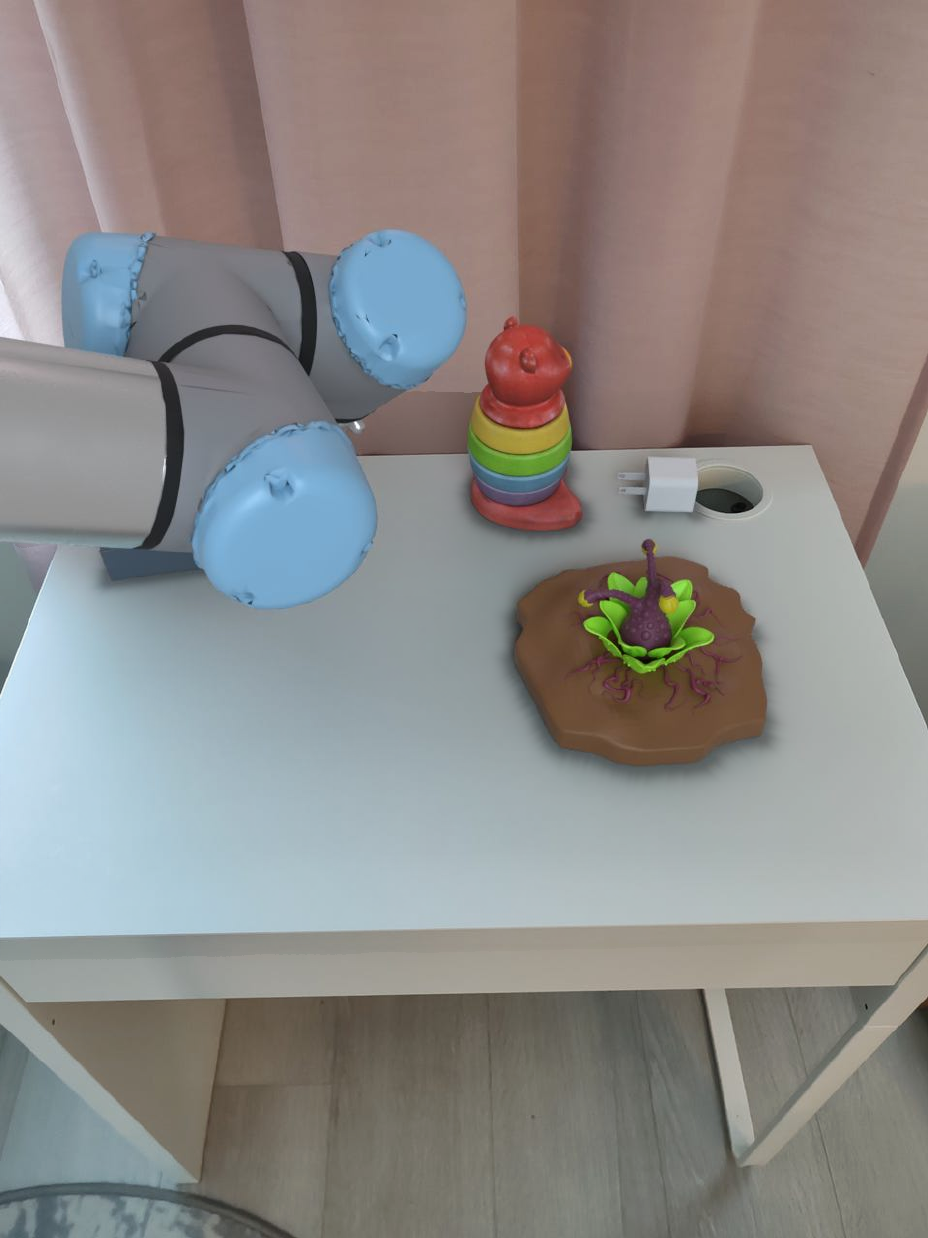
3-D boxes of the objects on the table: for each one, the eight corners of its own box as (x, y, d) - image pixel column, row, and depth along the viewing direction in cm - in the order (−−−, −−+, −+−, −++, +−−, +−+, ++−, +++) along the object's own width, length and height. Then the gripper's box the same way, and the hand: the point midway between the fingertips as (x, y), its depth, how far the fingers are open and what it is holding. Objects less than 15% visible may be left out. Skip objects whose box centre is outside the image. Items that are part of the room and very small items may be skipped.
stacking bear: (586, 528, 92) (604, 363, 78) (478, 541, 91) (477, 376, 77) (561, 453, 99) (573, 290, 85) (460, 464, 98) (456, 302, 84)
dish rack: (111, 580, 88) (98, 548, 85) (118, 491, 96) (106, 459, 93) (292, 556, 90) (285, 523, 87) (284, 470, 98) (278, 438, 95)
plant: (543, 786, 74) (551, 695, 65) (496, 594, 86) (498, 497, 78) (802, 748, 75) (842, 655, 67) (719, 566, 88) (744, 468, 80)
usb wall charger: (691, 515, 92) (698, 482, 89) (616, 513, 93) (621, 480, 90) (688, 487, 95) (694, 454, 92) (615, 485, 95) (619, 452, 92)
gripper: (176, 533, 58) (109, 579, 77) (473, 354, 70) (353, 432, 88) (101, 421, 57) (51, 496, 75) (417, 257, 68) (307, 357, 87)
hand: (214, 461), depth 82 cm, fingers open, 13 cm apart
